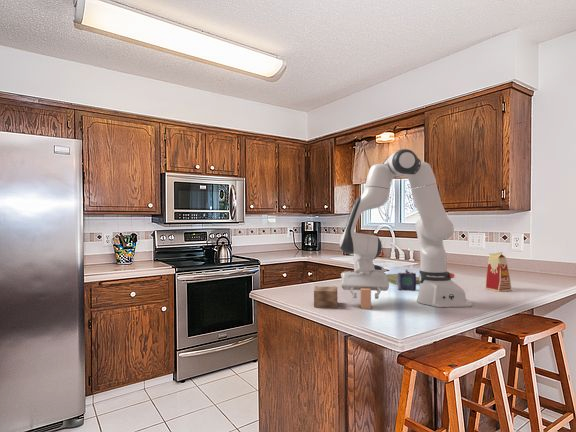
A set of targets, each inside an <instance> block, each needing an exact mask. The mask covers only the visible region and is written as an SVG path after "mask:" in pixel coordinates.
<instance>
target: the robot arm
mask: <svg viewBox="0 0 576 432" xmlns="http://www.w3.org/2000/svg"><path fill="white" fill-rule="evenodd" d="M403 176H404V177H406V178H407V180H408V182H409V185H410V189H411V194H412V200H413V204H414V207H415V208H416V211H418V213H419V216H420V218H419V219H418V220H417V221H416V222H415V226H414V230H415V233H416V235H417V241H418V248H419V254H420V255H419V259H420V260H419V261H420V263H419V264H420V270H419V273H418V277H419V281H420V284H419V287H418V288H419V289H418V293H417V294H418V295H417V298H416V302H418V303H419V304H422V305H429V306H432V307H437V308H460V307H461V308H463V307H465V308H466V307H472V306H473V304H472V302H471V301H470V300H469V299H467V297H466V292H465V290H464V289H463V288H462V287H461V286H460V285H458V284H457V283H456V282H454V281H453V280H452V279H454V278H455V274H454V273H452V272H449V271H448V270H447V268H448V267H447V265H448V264H447V263H448V261H447V257H448V256H447V252H446V250H445V246H444V242H443V241H446V240H448V239H450V238H452V236H453V234H454V231H455V225H454V224H453V222H452V221H451V219H450V218H449V216H448V213H447V212H446V209H445V208H444V205H443V203H442V201H441V200H442V199H441V197H440V192H439V189H438V185H437V179H436V176H435V173H434V171H433V169H432V167H431V165H430V163H428V162H426V161H421V159H420V158H418V156H417V154H416V153H415V152H414V151H413V150H411V149H407V148H403V149H399V150H396V151H395V152H393V153H391V154H390V156H389V155H388V157H386V159H385V160H384V161H383V163H376V164H373V165H372V166H371V167H370V168H369V171H368V173H367V176H366V181H365V186H364V190H363V192H362V194H360V196H358V197H356V199H355V201H354V202H353V205H352V206H351V210H350V213H349V216H348V218H347V222H346V225H345V228H344V229H343V233H342V235H341V237H340V239H339V248H340V250H341V251H342V252H343V253H344V254H348V255H353V261H354V263H353V270H344V271H342V272H341V273H340V278H341V279H342V280H341V289H343V290H344V291H345V290H346V291H350V293H351V294H352V298H353V299H357V297H358V296H357V292H355V291H361V288H370V289H371V291H374V292H375V291H376V292H377V293H376V292H375V293H374V299H375V300H376V299H379V298H380V297H379V295H380V294H381V292H382V291H383V292H386V291H388V290H389V288H390V282H388V278H387V274H386V272H385V267H384V266H381V265H378V264H374V262H373V260H375V259H377V258H378V257H379V256H380V255H381V252H382V247H383V246H382V241H381V238H380V237H379V236H377V235H375V234H367V233H360V232H355V230H356V227H357V224H358V222H359V221H358V220H359V219H360V216H361V214H362V213H363V212H365V211H368V210H372V209H373V210H374V209H377V208H380V207H383V206H384V205H385V204H387V202H388V200H389V198H390V192H391V183H392V181H393V180H394V178H399V177H403Z"/></svg>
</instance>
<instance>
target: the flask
mask: <svg viewBox="0 0 576 432" xmlns="http://www.w3.org/2000/svg"><path fill="white" fill-rule="evenodd" d="M397 274H398V285H397V290H398V291H417V284H416V277H417V274H416V272H412V271H408V269H405V270H404V272H397Z"/></svg>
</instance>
